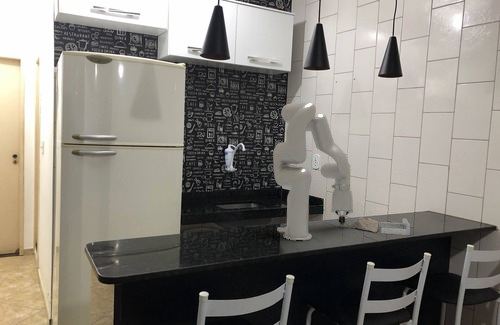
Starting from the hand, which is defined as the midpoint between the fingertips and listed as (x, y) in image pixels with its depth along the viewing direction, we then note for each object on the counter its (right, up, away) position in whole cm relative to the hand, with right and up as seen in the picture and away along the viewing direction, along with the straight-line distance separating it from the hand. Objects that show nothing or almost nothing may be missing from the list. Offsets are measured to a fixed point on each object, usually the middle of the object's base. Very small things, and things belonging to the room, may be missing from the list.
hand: (341, 224), depth 200 cm
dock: (+23, -2, -6) cm, 24 cm away
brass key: (+28, -2, +7) cm, 29 cm away
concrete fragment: (+11, -3, -4) cm, 12 cm away
